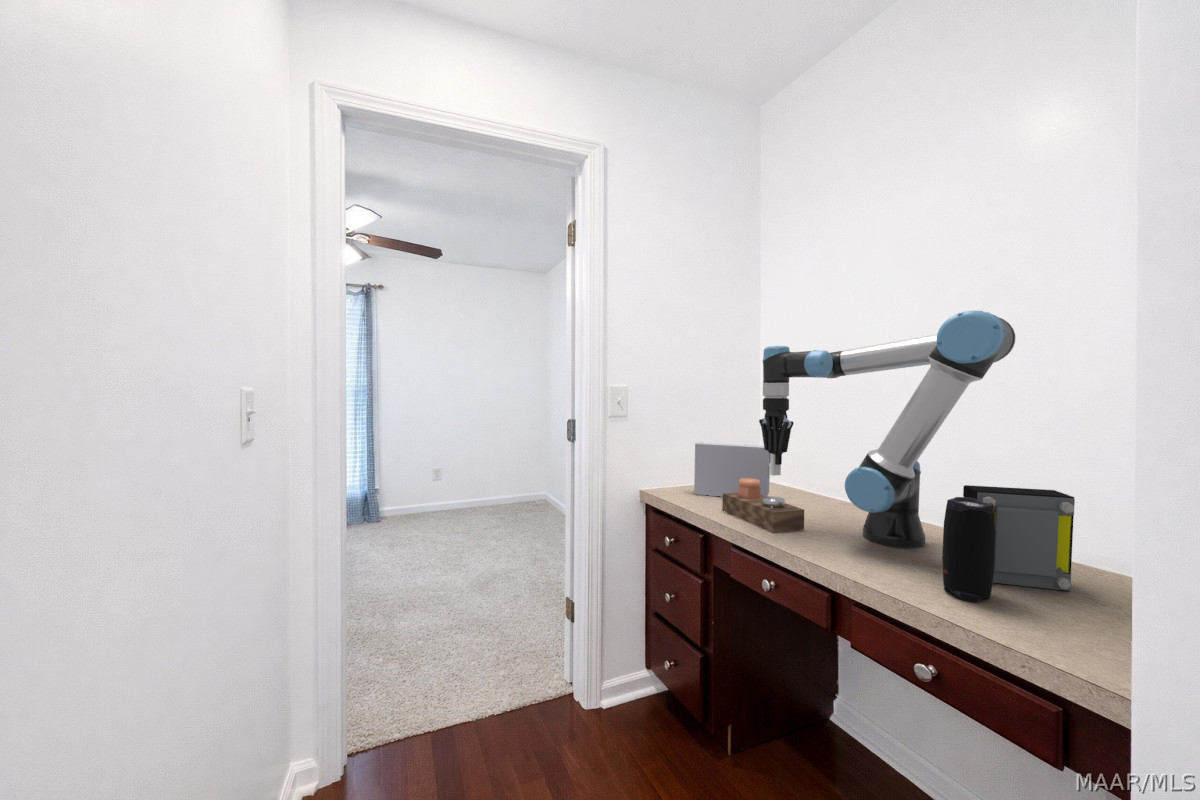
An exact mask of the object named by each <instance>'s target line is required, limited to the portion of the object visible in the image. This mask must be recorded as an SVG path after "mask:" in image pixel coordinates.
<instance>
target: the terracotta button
mask: <svg viewBox="0 0 1200 800" xmlns="http://www.w3.org/2000/svg"><path fill="white" fill-rule="evenodd" d="M760 490H761V487H760V480H758V479H752V478H741V479H739V485H738V496H740V497H743V498H745V499H756V498H760Z"/></svg>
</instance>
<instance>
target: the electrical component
mask: <svg viewBox="0 0 1200 800" xmlns="http://www.w3.org/2000/svg"><path fill="white" fill-rule="evenodd" d="M962 495H963V496H962V497H969V498H975V499H977V500H978V501H981V502H985V503H993V504H994V509H995V510H994V519H995V530H996V540H995V565H994V576H993V583H994V584H1003V585H1011V586H1012V585H1013V586H1021V587H1031V588H1032V587H1033V588H1040V589H1049V590H1050V589H1051V590H1058V591H1069V592H1070V591H1072V589H1071V587H1072V559H1073V557H1072V556H1073V536H1074V516H1075V504H1076V503H1075V501H1076V500H1075V496H1073V495H1072V496H1071V495H1069V494H1066V493H1065V492H1061V491H1057V490H1055V489H1042V488H1041V489H1040V488H1024V487H1023V488H1021V487H1005V486H1002V487H1001V486H983V485H982V486H981V485H967V484H965V485H963V491H962ZM993 583H992V584H993Z"/></svg>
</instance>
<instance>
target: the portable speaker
mask: <svg viewBox="0 0 1200 800" xmlns="http://www.w3.org/2000/svg"><path fill="white" fill-rule="evenodd" d="M945 507H946V508H945V512H944V521H943V531H942V532H943V533H942V534H943V535H942V555H941V561H942V564H941V565H942V579H943V580H942V581H943V590H944V591H946V590H947V591H949V592H951V593H952V594H953V597H955V598H957V599H960V600H962V601H965V602H972V603H980V601H982V600H983V599H988V600H990V599H991V595H992V590H993V576H994V565H995V540H996V530H995V519H994V510H995V509H994V504H993V503H985V502H981V501H978V500H977V499H975V498H969V497H964V496H956V497H953V498H950V499H947V501H946V506H945Z"/></svg>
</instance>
